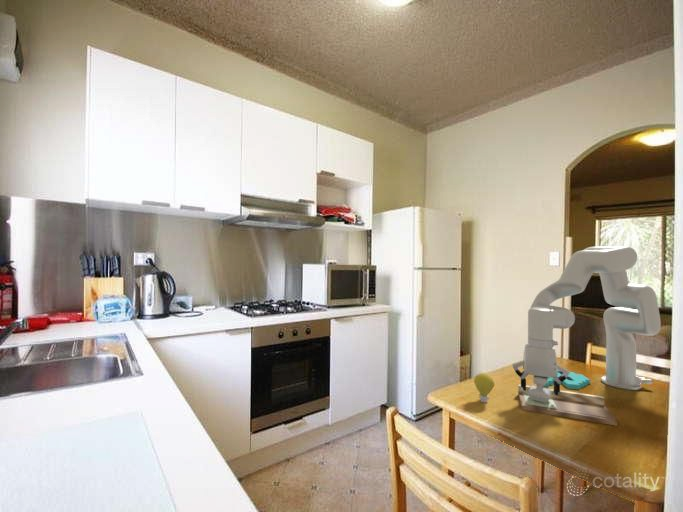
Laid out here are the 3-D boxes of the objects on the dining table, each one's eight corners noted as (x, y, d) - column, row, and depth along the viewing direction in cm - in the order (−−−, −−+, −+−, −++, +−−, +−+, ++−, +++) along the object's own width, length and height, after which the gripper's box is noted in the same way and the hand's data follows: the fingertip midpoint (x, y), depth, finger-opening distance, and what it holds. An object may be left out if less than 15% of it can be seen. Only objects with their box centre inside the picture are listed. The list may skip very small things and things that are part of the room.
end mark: (551, 397, 118) (551, 397, 118) (557, 409, 110) (557, 408, 110) (523, 393, 122) (523, 392, 122) (526, 404, 113) (526, 403, 113)
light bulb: (486, 406, 114) (486, 378, 114) (469, 399, 120) (470, 372, 120) (498, 402, 118) (498, 374, 118) (481, 395, 123) (481, 368, 123)
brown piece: (602, 407, 114) (602, 396, 114) (617, 425, 102) (617, 412, 102) (518, 394, 124) (518, 384, 124) (522, 409, 112) (522, 398, 112)
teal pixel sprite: (543, 387, 132) (599, 392, 128) (543, 382, 132) (599, 386, 128) (525, 370, 152) (574, 374, 148) (525, 365, 152) (574, 369, 148)
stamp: (531, 393, 121) (531, 370, 121) (552, 398, 117) (552, 375, 117) (526, 402, 114) (527, 378, 114) (549, 407, 110) (549, 382, 110)
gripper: (566, 343, 116) (566, 391, 116) (511, 338, 122) (511, 383, 123) (572, 348, 109) (571, 400, 109) (513, 343, 116) (513, 391, 116)
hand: (539, 391), depth 116 cm, fingers open, 9 cm apart
